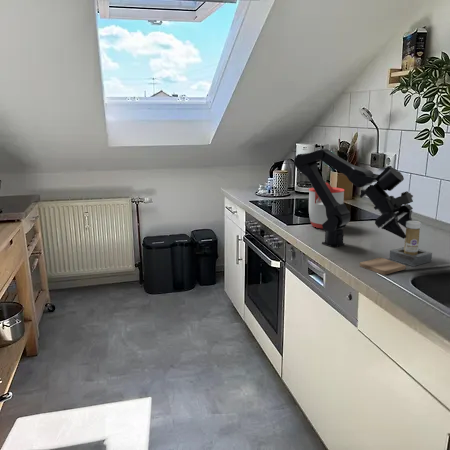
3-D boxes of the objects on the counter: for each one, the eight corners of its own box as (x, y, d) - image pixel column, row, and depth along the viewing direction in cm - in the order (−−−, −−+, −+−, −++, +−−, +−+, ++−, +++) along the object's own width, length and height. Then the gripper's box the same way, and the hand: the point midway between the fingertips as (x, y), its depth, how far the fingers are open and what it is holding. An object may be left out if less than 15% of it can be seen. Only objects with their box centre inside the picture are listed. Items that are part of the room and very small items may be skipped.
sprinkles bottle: (408, 262, 143) (411, 223, 140) (400, 258, 147) (403, 220, 144) (420, 261, 144) (424, 222, 141) (412, 257, 148) (415, 219, 145)
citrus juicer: (301, 229, 189) (302, 184, 184) (313, 221, 204) (314, 179, 199) (337, 233, 182) (339, 186, 177) (346, 224, 197) (348, 181, 192)
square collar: (389, 258, 147) (390, 250, 146) (407, 254, 152) (407, 246, 151) (413, 266, 139) (414, 257, 138) (431, 261, 144) (432, 252, 143)
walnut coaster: (359, 266, 140) (359, 262, 140) (380, 260, 145) (380, 257, 145) (384, 274, 132) (384, 271, 132) (405, 269, 137) (405, 265, 137)
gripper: (386, 187, 137) (419, 226, 132) (409, 181, 150) (439, 216, 145) (362, 208, 144) (392, 246, 139) (385, 201, 157) (413, 234, 152)
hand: (410, 235), depth 144 cm, fingers open, 9 cm apart
